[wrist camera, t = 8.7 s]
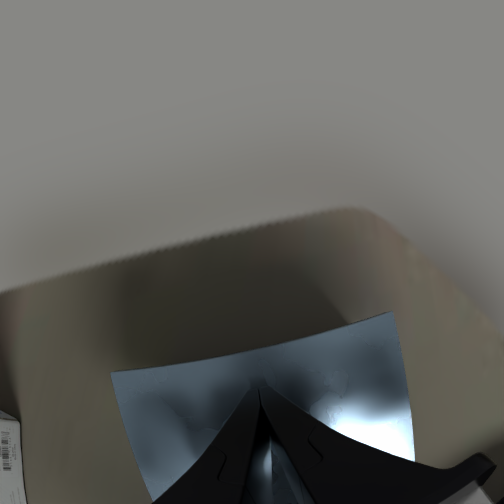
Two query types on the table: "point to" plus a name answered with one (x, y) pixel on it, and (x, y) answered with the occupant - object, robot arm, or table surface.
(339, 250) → the table surface
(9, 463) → the hard drive box
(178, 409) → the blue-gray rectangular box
